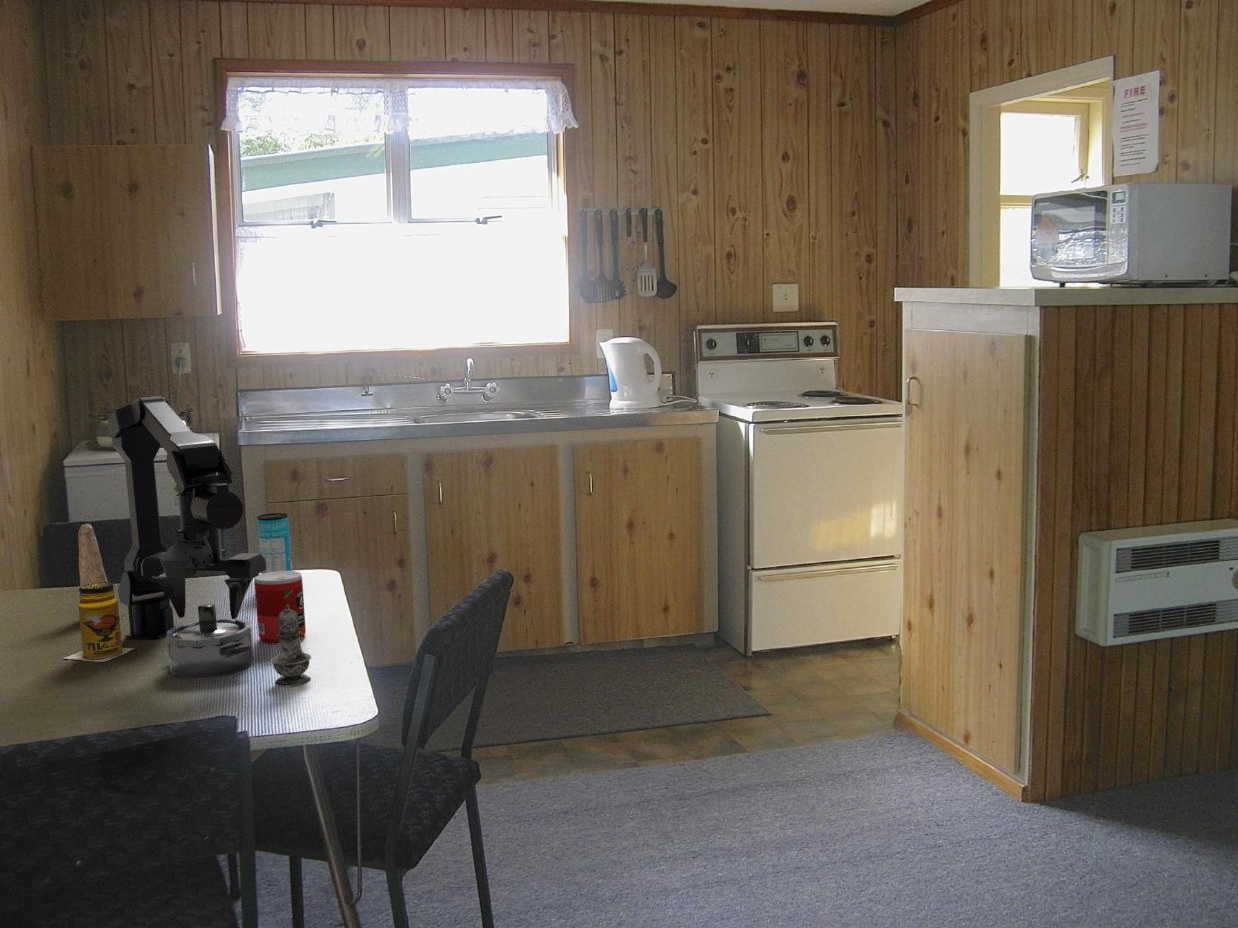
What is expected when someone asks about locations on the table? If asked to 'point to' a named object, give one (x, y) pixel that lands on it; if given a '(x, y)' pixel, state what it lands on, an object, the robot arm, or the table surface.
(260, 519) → the beverage can
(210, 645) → the pot
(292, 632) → the salt shaker
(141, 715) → the table surface
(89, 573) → the pink tall tapered cone
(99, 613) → the condiment
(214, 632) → the lid
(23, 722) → the table surface
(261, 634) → the canned food
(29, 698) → the table surface
